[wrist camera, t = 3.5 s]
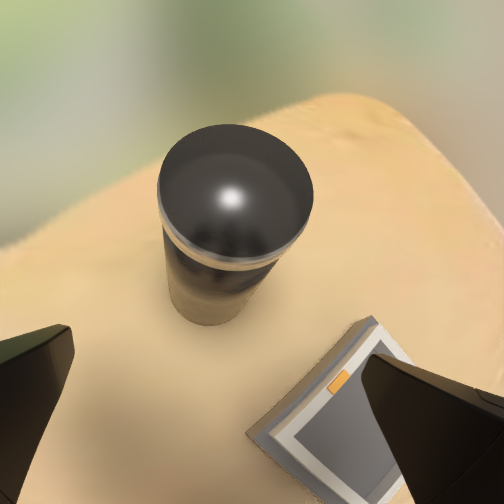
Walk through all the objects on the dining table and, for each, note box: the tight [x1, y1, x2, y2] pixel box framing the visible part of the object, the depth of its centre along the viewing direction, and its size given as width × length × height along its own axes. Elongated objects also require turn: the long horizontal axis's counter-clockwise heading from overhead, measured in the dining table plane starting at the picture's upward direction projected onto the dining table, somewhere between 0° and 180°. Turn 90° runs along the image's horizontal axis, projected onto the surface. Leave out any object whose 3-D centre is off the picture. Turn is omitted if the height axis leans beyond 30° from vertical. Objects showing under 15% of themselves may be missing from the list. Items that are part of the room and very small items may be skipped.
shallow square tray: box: [246, 315, 415, 504], centre depth 19 cm, size 11×12×4 cm
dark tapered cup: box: [157, 124, 313, 326], centre depth 17 cm, size 6×6×13 cm
